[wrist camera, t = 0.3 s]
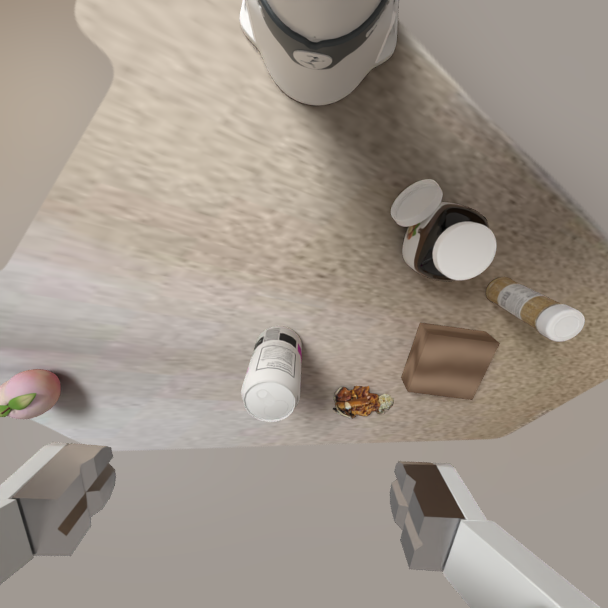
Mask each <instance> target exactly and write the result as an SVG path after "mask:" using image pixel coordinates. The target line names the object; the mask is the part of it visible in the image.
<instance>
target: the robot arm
mask: <svg viewBox="0 0 608 608" xmlns="http://www.w3.org/2000/svg"><path fill="white" fill-rule="evenodd" d="M398 8H399V0H243V1H242V6H241V11H240V24H241V28H242V30H243V32H244V34H245V35H246V36H247V38H248V39H249V40H250V41H251V42H252V43H253V44H254V45H255V46H256V47H257V48H258V50H259V52H260V53H261V55H262V58H263V60H264V63H265V65H266V67H267V69H268V72H269V73H270V75H271V77H272V78H273V80H274V81H275V83H276V84H277V85H278V86H279V88H280V89H281V90H282V91H283V92H285V93H286V94H287V95H288V96H290V97H291V98H293V99H294V100H296V101H299V102H301V103H304V104H308V105H327V104H331V103H334V102H336V101H339V100H340V99H342V98H344V97H346V96H347V95H348V94H350V93H351V92H352V91H353V90H354V89H355V88H356V87H357V86H358V85H359V84H360V82H361V81H362V80H363V79H364V77H365V76H366V75H367V74H368V72H369V71H370V70H371V69H373V68H375V67H377V66H378V65H380V64H382V63H383V62H385V61H386V60H388V59H389V58H390V57H391V56H392V54H393V52H394V50H395V47H396V42H397V25H398ZM112 457H113V454H112V450H111V447H107V446H98V445H86V444H72V443H71V444H69V443H56V442H52V443H50V444H47V445H45V446H44V447H43V448H41V449H40V450H39V451H38V452H37V453H36V454H35V455H34V456H33V457H31V458H30V459H29V460H28V461H27V462H26V463H25V464H24V465H22V466H21V467H20V468H19V469H18V470H17V471H16V472H15V473H14V474H13V475H11V476H10V477H9V478H8V479H7V480H6V481H4V482H3V483H2V484H1V485H0V584H2V583H3V582H4V581H6V580H7V579H8V578H9V577H10V576H12V575H13V574H14V573H15V572H17V571H18V570H19V569H20V568H22V567H23V566H24V565H25V564H27V563H28V562H29V561H30V560H32V559H33V556H71V555H72V554H73V552H74V551H75V549H76V548H77V546H78V545H79V543H80V542H81V540H82V539H83V537H84V536H85V535H86V533H87V531H88V530H89V528H90V527H91V517H92V516H93V515H95V514H96V513H98V512H99V511H100V510H102V509H103V508H104V506H105V505H106V503H107V501H108V500H109V499H110V496H111V494H112V491H113V489H114V486H115V479H116V473H115V469H114V468H113V467H112V466H111V465H110V464H109V462H110V460H111V459H112ZM394 472H395V475H396V478H397V479H396V480H395V481H394V482H393V483H392V484H391V490H390V504H391V510H392V514H393V518H394V521H395V523H396V524H397V525H398V526H399V527H400V528H401V529H402V530H403V531H402V535H401V539H400V541H401V544H402V547H403V550H404V553H405V556H406V560H407V562H408V566H409V569H416V570H428V571H442V572H443V575H444V576H445V577H446V578H447V580H448V581H449V582H450V583H451V585H452V586H453V587H454V588H455V590H456V591H457V592H458V594H459V595H460V596H461V597H462V599H463V600H464V601H465V602H466V603H467V605H468V606H469V607H470V608H601V607H599V606H598V605H597V604H596V603H594V602H593V601H592V600H591V599H589V598H588V597H587V596H586V595H584V594H583V593H582V592H581V591H580V590H578V589H577V588H576V587H575V586H573V585H572V584H571V583H570V582H568V581H567V580H566V579H564V578H563V577H562V576H561V575H560V574H558V573H557V572H556V571H555V570H553V569H552V568H551V567H549V566H548V565H547V564H546V563H544V562H543V561H542V560H541V559H540V558H538V557H537V556H536V555H535V554H534V553H532V552H531V551H530V550H528V549H527V548H526V547H525V546H524V545H522V544H521V543H520V542H519V541H517V540H516V539H515V538H514V537H512V536H511V535H510V534H509V533H507V532H506V531H505V530H503V529H502V528H501V527H500V526H499V525H497V524H496V523H495V522H493V521H487V519H486V518H485V516H484V514H483V513H482V511H481V509H480V508H479V506H478V505H477V503H476V501H475V500H474V498H473V496H472V495H471V494H470V492H469V490H468V488H467V487H466V485H465V484H464V482H463V481H462V479H461V477H460V476H459V474H458V472H457V471H456V470H455V468H454V466H452V465H451V464H449V463H427V462H426V463H425V462H401V461H399V462H398V463H397V464H396V467H395V471H394Z"/></svg>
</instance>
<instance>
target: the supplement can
mask: <svg viewBox="0 0 608 608" xmlns="http://www.w3.org/2000/svg"><path fill="white" fill-rule="evenodd" d="M301 359H302V344H301V340H300V338H299V336H298V335H297V334H296V333H295V332H294V331H293V330H292V329H289V328H287V327H284V326H273V327H269V328H267V329H266V330H264V331H262V333H261V334H260V335H259V337H258V339H257V342H256V345H255V348H254V351H253V355H252V358H251V361H250V364H249V367H248V370H247V373H246V376H245V380H244V383H243V386H242V390H241V394H242V399H243V402H244V406H245V408H246V410H247V411H248V413H249V414H250V415H252V416H253V417H254V418H256V419H259V420H261V421H266V422H275V421H281V420H283V419H285V418H287V417H288V416H289V415H290V414H291V413H292V412H293V410H294V408H295V407H296V406H297V405H298V402H299V399H300V387H301Z"/></svg>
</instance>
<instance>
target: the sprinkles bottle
mask: <svg viewBox="0 0 608 608" xmlns="http://www.w3.org/2000/svg"><path fill="white" fill-rule="evenodd" d="M486 296H487V298H488V299H489V300H490V301H491V302H494V303H496V304H497V305H499V306H501V307H502V308H504V309H505V310H506V311H508V312H509V313H511V314H513V315H514V316H516V317H518V318H519V319H521V320H522V321H524V322H525V323H527V324H529V325H530V326H532V327H534V328H536V329H537V330H538V332H539V333H541V334H542V335H544V336H545V337H547V338H549V339H550V340H553V341H557V342H561V341H566V340H569V339H571V338H573V337H575V336H576V335H577V334H578V333H579V332H580V331H581V330H582V328H583V326H584V323H585V318H584V315H583V314H582V313H581V312H580V311H578V310H577V309H575V308H573V307H570V306H568V305H565V304H560V303H558V302H556V301H554V300H552V299H550V298H549V297H547V296H545V295H542V294H540V293H538V292H536V291H534V290H532V289H530V288H528V287H526V286H524V285H521V284H518V283H516V282H514V281H512V280H511V279H510V278H507V277H499V278H497V279H495V280H493V281H492V282H491V283H490V284H489V285H488V287H487V290H486Z"/></svg>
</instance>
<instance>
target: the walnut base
mask: <svg viewBox="0 0 608 608" xmlns="http://www.w3.org/2000/svg"><path fill="white" fill-rule="evenodd" d="M499 344H500V343H499V342H497V341H496V340H495V339H494V338H493V337H491V336H490V335H489V334H488V333H487V332H485V331H478V330H470V329H463V328H456V327H448V326H441V325H434V324H426V323H420V324H419V327H418V330H417V333H416V336H415V339H414V342H413V345H412V348H411V350H410V353H409V356H408V359H407V362H406V365H405V368H404V371H403V374H402V377H401V378H402V380H403V383H404V385H405V387H406V389H407V391H408V392H414V393H422V394H430V395H438V396H446V397H454V398H462V399H470V400H472V399H473V397H474V395H475V393H476V391H477V389H478V387H479V385H480V383H481V381H482V379H483V377H484V375H485V372H486V370H487V368H488V366H489V364H490V362H491V360H492V358H493V356H494V354H495V352H496V350H497V348H498V346H499Z"/></svg>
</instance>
